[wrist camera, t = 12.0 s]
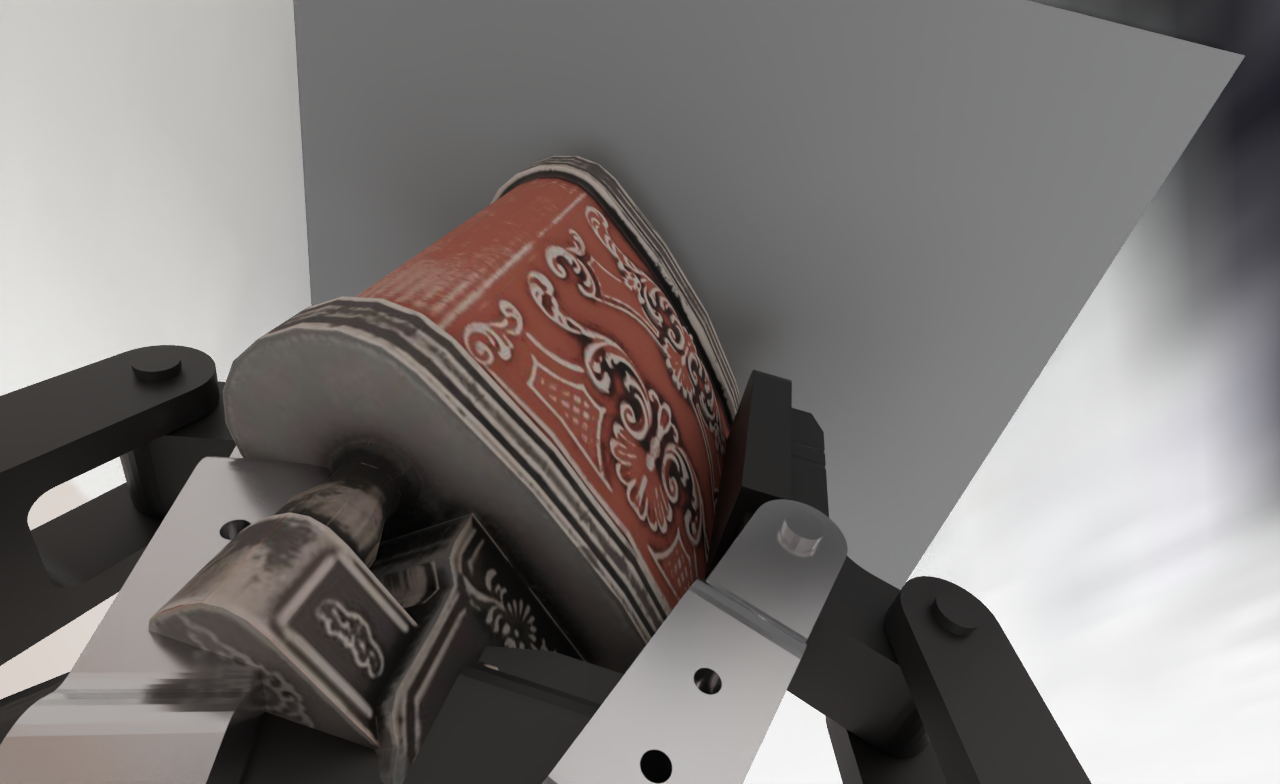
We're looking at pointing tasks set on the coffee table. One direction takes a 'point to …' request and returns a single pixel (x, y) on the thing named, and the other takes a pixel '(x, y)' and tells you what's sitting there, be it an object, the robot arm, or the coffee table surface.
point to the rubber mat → (784, 187)
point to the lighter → (472, 465)
